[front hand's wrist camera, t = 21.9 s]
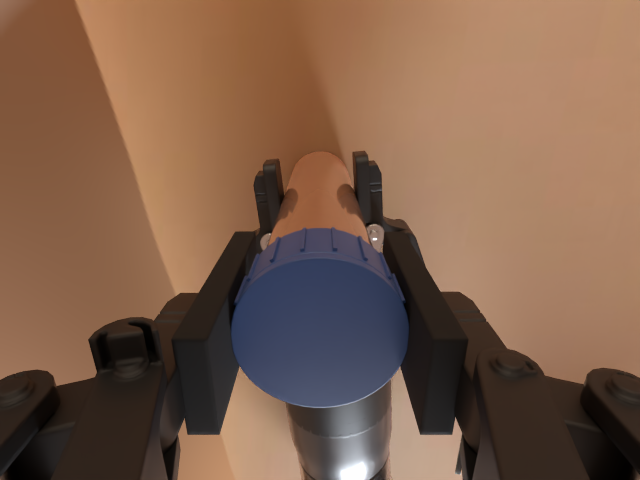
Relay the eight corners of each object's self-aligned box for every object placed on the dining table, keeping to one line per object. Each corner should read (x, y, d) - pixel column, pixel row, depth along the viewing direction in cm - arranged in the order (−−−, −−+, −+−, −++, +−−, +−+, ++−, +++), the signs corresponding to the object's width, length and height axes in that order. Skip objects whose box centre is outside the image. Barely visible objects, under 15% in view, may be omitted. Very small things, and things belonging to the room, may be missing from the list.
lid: (386, 211, 11) (400, 238, 9) (404, 347, 13) (420, 396, 11) (225, 240, 11) (204, 272, 9) (264, 369, 13) (254, 421, 11)
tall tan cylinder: (279, 173, 28) (215, 306, 11) (326, 139, 27) (339, 223, 10) (313, 218, 29) (304, 400, 12) (359, 186, 28) (421, 335, 11)
